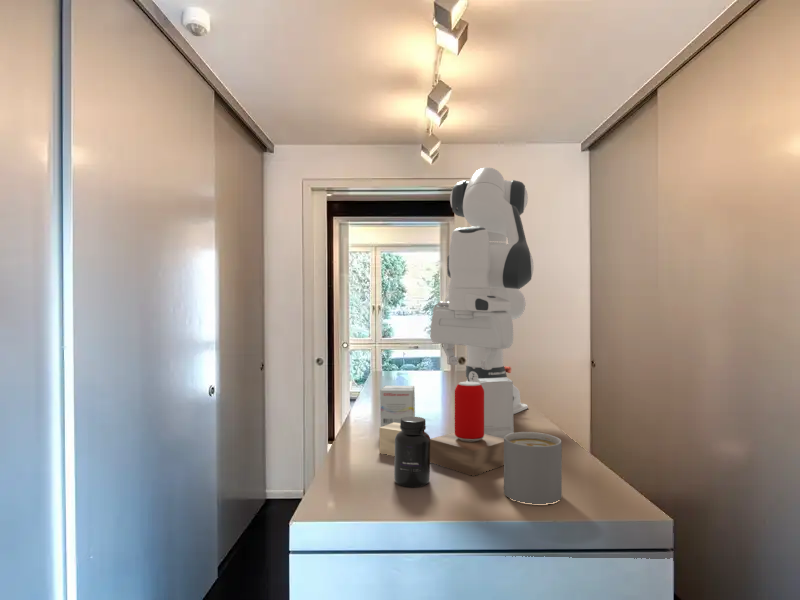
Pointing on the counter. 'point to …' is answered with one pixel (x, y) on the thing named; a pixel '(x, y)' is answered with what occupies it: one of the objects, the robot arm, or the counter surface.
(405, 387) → the ink box
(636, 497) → the counter surface
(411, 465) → the supplement bottle
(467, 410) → the beverage can
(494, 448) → the walnut block
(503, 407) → the skincare box
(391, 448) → the oak block
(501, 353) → the robot arm
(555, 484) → the coffee mug
